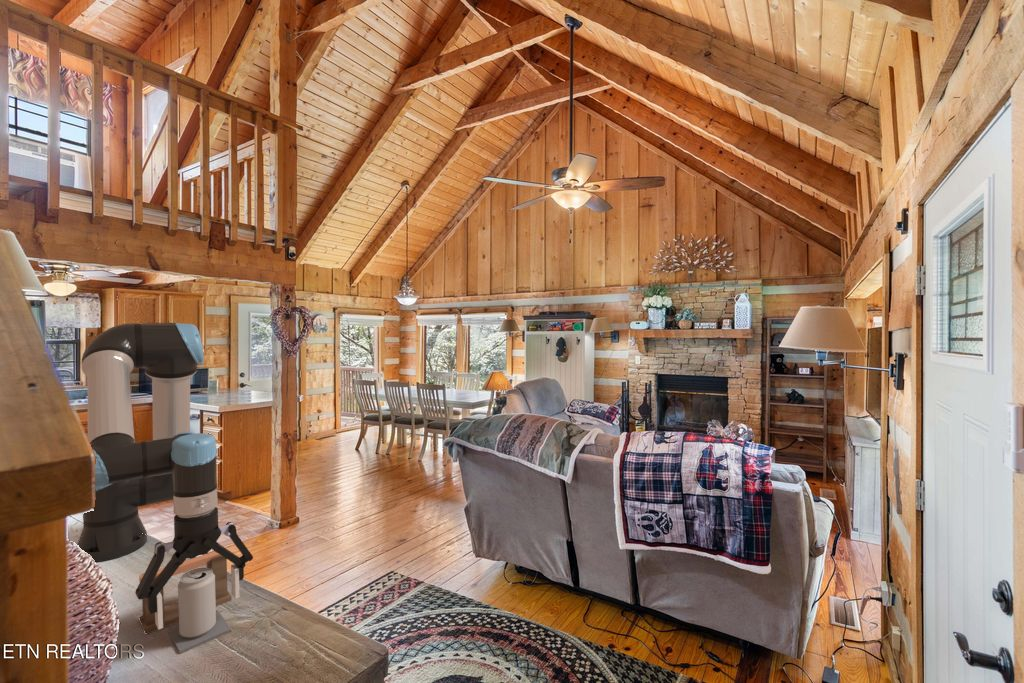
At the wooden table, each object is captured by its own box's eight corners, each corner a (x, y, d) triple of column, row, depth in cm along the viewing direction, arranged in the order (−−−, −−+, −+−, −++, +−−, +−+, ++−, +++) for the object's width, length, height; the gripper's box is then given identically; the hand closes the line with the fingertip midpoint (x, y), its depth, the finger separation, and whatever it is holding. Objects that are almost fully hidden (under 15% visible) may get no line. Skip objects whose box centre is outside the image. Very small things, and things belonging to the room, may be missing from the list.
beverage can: (198, 642, 94) (196, 585, 93) (171, 637, 95) (169, 581, 95) (223, 622, 101) (222, 568, 100) (197, 617, 102) (196, 564, 101)
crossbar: (139, 582, 99) (139, 575, 99) (224, 554, 111) (224, 548, 111) (141, 586, 98) (141, 579, 98) (227, 557, 110) (227, 551, 109)
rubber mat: (168, 631, 98) (168, 629, 98) (217, 611, 105) (217, 609, 105) (179, 653, 92) (179, 651, 92) (231, 631, 99) (231, 628, 98)
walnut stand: (139, 621, 101) (137, 573, 100) (223, 589, 113) (222, 546, 112) (145, 634, 97) (143, 584, 96) (231, 600, 109) (230, 555, 108)
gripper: (121, 538, 85) (125, 650, 86) (267, 498, 103) (269, 591, 105) (114, 524, 90) (118, 630, 91) (255, 489, 108) (257, 578, 110)
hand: (199, 610), depth 98 cm, fingers open, 13 cm apart
